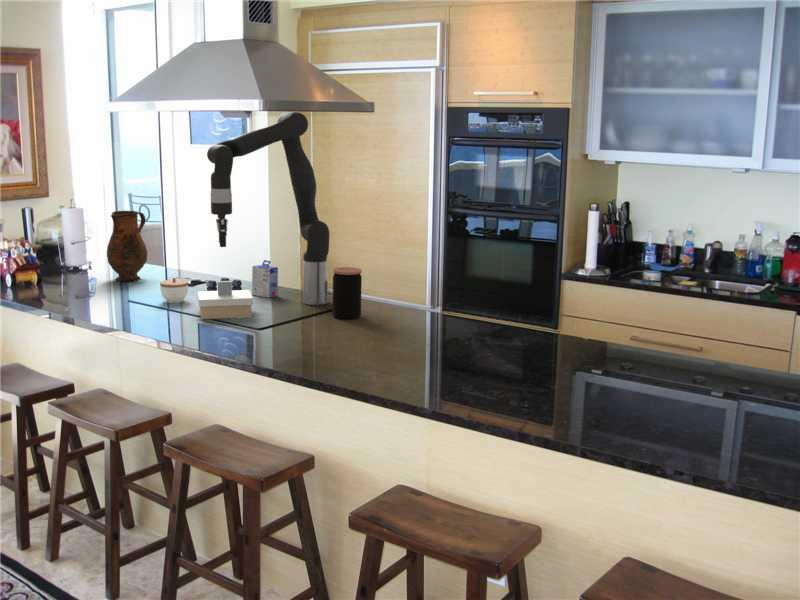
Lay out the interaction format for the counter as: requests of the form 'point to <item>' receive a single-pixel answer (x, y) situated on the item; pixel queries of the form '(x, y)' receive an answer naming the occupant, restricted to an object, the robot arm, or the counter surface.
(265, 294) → the ink cartridge box
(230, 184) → the robot arm
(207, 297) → the lid
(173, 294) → the lidded jar
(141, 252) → the pitcher
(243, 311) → the base
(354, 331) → the counter surface
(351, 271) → the coffee jar
